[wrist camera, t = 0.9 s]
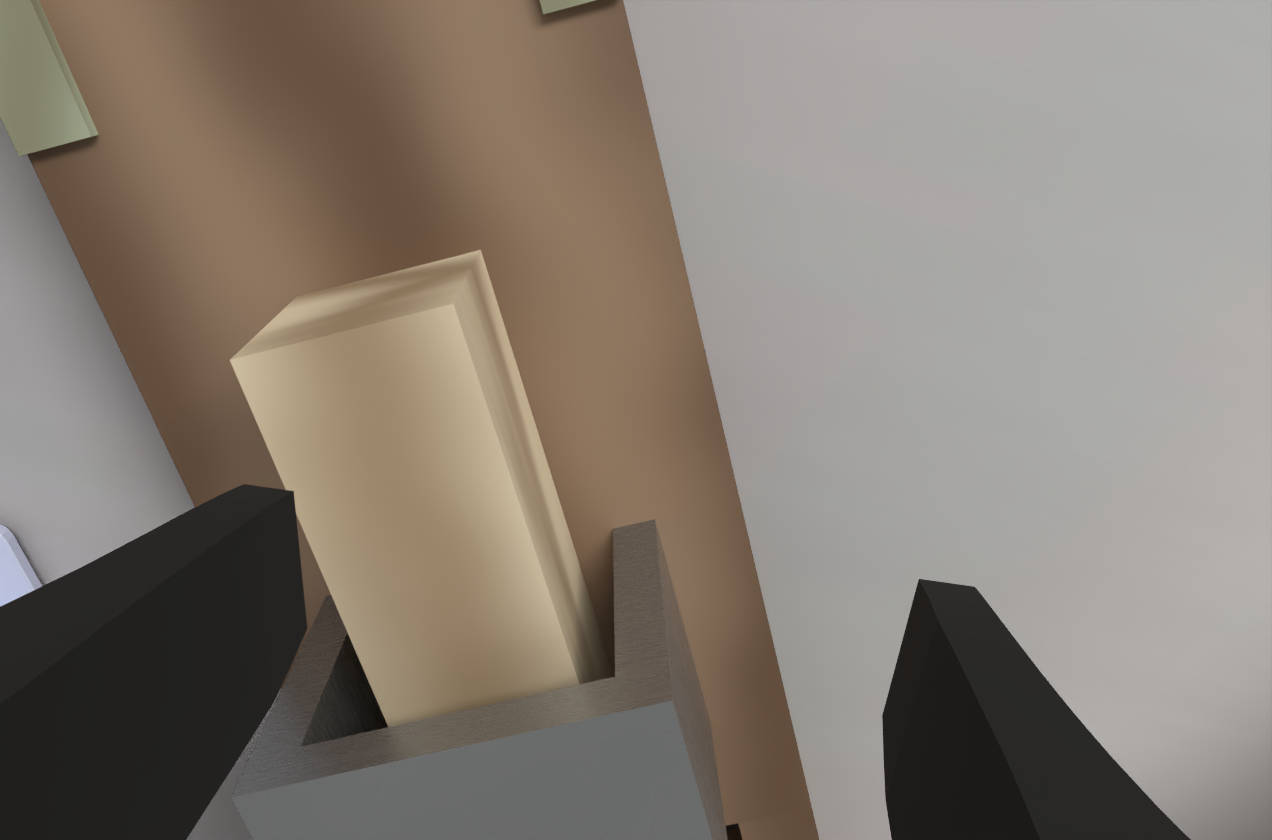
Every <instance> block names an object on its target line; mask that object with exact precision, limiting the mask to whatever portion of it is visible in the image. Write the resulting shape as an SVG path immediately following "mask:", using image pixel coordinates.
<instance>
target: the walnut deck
mask: <svg viewBox="0 0 1272 840" xmlns="http://www.w3.org/2000/svg"><path fill="white" fill-rule="evenodd" d="M0 118H1V120H2V122H3V124H4V126H5V128H6V130H7V132H8V134H9V137H10V139H11V141H12V143H13V145H14V147H15V149H16V151H17V153H18V155H19V156H22V155H26V154H27V155H28V157H29V159H30V161H31V163H32V165H33V167H34V169H35V171H36V173H37V176H38V178H39V180H40V182H41V184H42V186H43V188H44V190H45V192H46V194H47V197H48V199H49V201H50V203H51V205H52V207H53V209H54V211H55V213H56V215H57V218H58V220H59V222H60V224H61V226H62V228H63V230H64V232H65V234H66V237H67V239H68V241H69V243H70V245H71V247H72V249H73V251H74V253H75V255H76V258H77V260H78V262H79V264H80V266H81V268H82V270H83V272H84V274H85V276H86V279H87V281H88V283H89V285H90V287H91V289H92V291H93V293H94V295H95V297H96V300H97V302H98V304H99V306H100V308H101V310H102V312H103V314H104V316H105V318H106V321H107V323H108V325H109V327H110V329H111V331H112V333H113V335H114V337H115V339H116V342H117V344H118V346H119V348H120V350H121V352H122V354H123V356H124V358H125V360H126V363H127V365H128V367H129V369H130V371H131V373H132V375H133V377H134V379H135V382H136V384H137V386H138V388H139V390H140V392H141V394H142V396H143V398H144V400H145V403H146V405H147V407H148V409H149V411H150V413H151V415H152V417H153V419H154V421H155V424H156V426H157V428H158V430H159V432H160V434H161V436H162V438H163V440H164V442H165V445H166V447H167V449H168V451H169V453H170V455H171V457H172V459H173V461H174V463H175V466H176V468H177V470H178V472H179V474H180V476H181V478H182V480H183V482H184V484H185V487H186V489H187V491H188V493H189V495H190V497H191V499H192V501H193V503H194V505H195V507H197V506H199V505H201V504H203V503H205V502H207V501H209V500H211V499H213V498H215V497H217V496H219V495H221V494H223V493H225V492H227V491H229V490H231V489H234V488H236V487H238V486H241V485H243V484H247V485H254V486H261V487H268V488H275V489H283V490H286V489H285V487H284V484H283V482H282V480H281V478H280V475H279V473H278V471H277V468H276V466H275V464H274V461H273V459H272V457H271V454H270V452H269V450H268V447H267V445H266V443H265V441H264V438H263V436H262V434H261V431H260V429H259V427H258V424H257V422H256V420H255V417H254V415H253V413H252V410H251V408H250V406H249V404H248V401H247V399H246V397H245V394H244V392H243V390H242V387H241V385H240V383H239V380H238V378H237V376H236V373H235V371H234V369H233V367H232V364H231V362H230V359H231V358H232V357H233V356H234V355H236V354H237V353H238V352H239V351H240V350H241V349H242V348H243V347H244V346H245V345H246V344H247V343H248V342H249V341H250V340H251V339H252V338H254V337H255V336H256V335H257V334H258V333H259V332H260V331H261V330H262V329H263V328H264V327H265V326H266V325H267V324H268V323H269V322H270V321H271V320H273V319H274V318H275V317H276V316H277V315H278V314H279V313H280V312H281V311H282V310H283V309H284V308H285V307H286V306H287V305H288V304H289V303H291V302H292V301H293V300H294V299H295V298H296V297H298V296H302V295H306V294H310V293H314V292H317V291H321V290H325V289H329V288H333V287H337V286H341V285H345V284H349V283H353V282H357V281H361V280H364V279H368V278H372V277H376V276H380V275H384V274H388V273H392V272H396V271H400V270H404V269H408V268H412V267H415V266H419V265H423V264H427V263H431V262H435V261H439V260H443V259H447V258H451V257H455V256H459V255H462V254H466V253H470V252H474V251H478V250H481V252H482V255H483V259H484V262H485V265H486V268H487V271H488V274H489V278H490V281H491V284H492V287H493V290H494V294H495V297H496V300H497V303H498V306H499V310H500V313H501V316H502V319H503V322H504V326H505V329H506V332H507V335H508V338H509V341H510V345H511V348H512V351H513V354H514V357H515V361H516V364H517V367H518V370H519V373H520V377H521V380H522V383H523V386H524V389H525V392H526V396H527V399H528V402H529V405H530V408H531V412H532V415H533V418H534V421H535V424H536V428H537V431H538V434H539V437H540V440H541V444H542V447H543V450H544V453H545V456H546V459H547V463H548V466H549V469H550V472H551V475H552V479H553V482H554V485H555V488H556V491H557V495H558V498H559V501H560V504H561V507H562V510H563V514H564V517H565V520H566V523H567V526H568V530H569V533H570V536H571V539H572V542H573V546H574V549H575V552H576V555H577V558H578V562H579V565H580V568H581V571H582V574H583V577H584V581H585V584H586V587H587V590H588V593H589V597H590V600H591V603H592V606H593V609H594V613H595V616H596V619H597V622H598V625H599V628H600V632H601V635H602V638H603V641H604V644H605V648H606V651H607V654H608V657H609V660H610V664H611V667H612V670H613V673H614V676H615V635H614V565H613V529H614V528H619V527H623V526H627V525H631V524H636V523H640V522H644V521H649V520H653V519H655V521H656V525H657V528H658V532H659V536H660V539H661V543H662V547H663V550H664V554H665V558H666V561H667V565H668V569H669V572H670V576H671V580H672V583H673V587H674V591H675V594H676V598H677V602H678V605H679V609H680V613H681V616H682V620H683V623H684V627H685V631H686V634H687V638H688V642H689V645H690V649H691V653H692V656H693V660H694V664H695V667H696V671H697V675H698V678H699V682H700V686H701V689H702V693H703V697H704V700H705V704H706V708H707V711H708V715H709V719H710V723H711V730H712V737H713V744H714V750H715V757H716V764H717V771H718V778H719V785H720V791H721V798H722V805H723V812H724V819H725V826H726V832H727V839H728V840H819V837H818V833H817V828H816V824H815V820H814V816H813V811H812V807H811V803H810V798H809V794H808V790H807V786H806V781H805V777H804V773H803V769H802V764H801V760H800V756H799V751H798V747H797V743H796V739H795V734H794V730H793V726H792V721H791V717H790V713H789V709H788V704H787V700H786V696H785V692H784V687H783V683H782V679H781V674H780V670H779V666H778V662H777V657H776V653H775V649H774V644H773V640H772V636H771V632H770V627H769V623H768V619H767V615H766V610H765V606H764V602H763V597H762V593H761V589H760V585H759V580H758V576H757V572H756V568H755V563H754V559H753V555H752V550H751V546H750V542H749V538H748V533H747V529H746V525H745V520H744V516H743V512H742V508H741V503H740V499H739V495H738V491H737V486H736V482H735V478H734V473H733V469H732V465H731V461H730V456H729V452H728V448H727V443H726V439H725V435H724V431H723V426H722V422H721V418H720V414H719V409H718V405H717V401H716V396H715V392H714V388H713V384H712V379H711V375H710V371H709V366H708V362H707V358H706V354H705V349H704V345H703V341H702V337H701V332H700V328H699V324H698V319H697V315H696V311H695V307H694V302H693V298H692V294H691V289H690V285H689V281H688V277H687V272H686V268H685V264H684V260H683V255H682V251H681V247H680V242H679V238H678V234H677V230H676V225H675V221H674V217H673V212H672V208H671V204H670V200H669V195H668V191H667V187H666V183H665V178H664V174H663V170H662V165H661V161H660V157H659V153H658V148H657V144H656V140H655V135H654V131H653V127H652V123H651V118H650V114H649V110H648V106H647V101H646V97H645V93H644V88H643V84H642V80H641V76H640V71H639V67H638V63H637V59H636V54H635V50H634V46H633V41H632V37H631V33H630V29H629V24H628V20H627V16H626V11H625V7H624V3H623V0H0ZM296 519H297V529H298V539H299V549H300V559H301V569H302V579H303V589H304V599H305V609H306V619H307V631H306V633H305V635H304V637H303V640H302V642H301V644H300V646H299V649H298V651H297V653H296V655H295V658H294V660H293V662H292V664H291V667H290V669H289V671H288V673H287V675H286V677H285V679H284V681H283V683H282V685H281V688H283V686H284V684H285V682H286V680H287V677H288V675H289V673H290V671H291V669H292V667H293V665H294V663H295V661H296V658H297V656H298V654H299V652H300V650H301V648H302V646H303V644H304V641H305V639H306V637H307V635H308V633H309V631H310V629H311V627H312V625H313V622H314V620H315V618H316V616H317V614H318V612H319V610H320V608H321V606H322V603H323V601H324V599H325V597H326V596H327V595H331V593H330V591H329V589H328V586H327V584H326V582H325V579H324V577H323V575H322V572H321V570H320V568H319V565H318V563H317V561H316V558H315V556H314V554H313V552H312V549H311V547H310V545H309V542H308V540H307V538H306V535H305V533H304V531H303V528H302V526H301V524H300V521H299V519H298V517H297V515H296Z"/></svg>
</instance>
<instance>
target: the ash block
mask: <svg viewBox="0 0 1272 840" xmlns="http://www.w3.org/2000/svg"><path fill="white" fill-rule="evenodd" d="M230 362H231V364H232V367H233V369H234V371H235V373H236V376H237V378H238V380H239V383H240V385H241V387H242V390H243V392H244V394H245V397H246V399H247V401H248V404H249V406H250V408H251V410H252V413H253V415H254V417H255V420H256V422H257V424H258V427H259V429H260V431H261V434H262V436H263V438H264V441H265V443H266V445H267V447H268V450H269V452H270V454H271V457H272V459H273V461H274V464H275V466H276V468H277V471H278V473H279V475H280V478H281V480H282V482H283V484H284V487H285V489H286V490H290V491H294V499H295V509H296V515H297V517H298V519H299V521H300V524H301V526H302V528H303V531H304V533H305V535H306V538H307V540H308V542H309V545H310V547H311V549H312V552H313V554H314V556H315V558H316V561H317V563H318V565H319V568H320V570H321V572H322V575H323V577H324V579H325V582H326V584H327V586H328V589H329V591H330V593H331V595H332V598H333V600H334V602H335V605H336V607H337V609H338V612H339V614H340V616H341V619H342V621H343V623H344V626H345V628H346V630H347V632H348V635H349V637H350V639H351V642H352V644H353V646H354V649H355V651H356V653H357V656H358V658H359V660H360V663H361V665H362V667H363V669H364V672H365V674H366V676H367V679H368V681H369V683H370V686H371V688H372V690H373V693H374V695H375V697H376V700H377V702H378V704H379V706H380V709H381V711H382V713H383V716H384V718H385V720H386V723H387V725H388V727H391V726H396V725H400V724H405V723H409V722H414V721H418V720H422V719H427V718H431V717H436V716H440V715H445V714H449V713H454V712H458V711H463V710H467V709H472V708H476V707H481V706H485V705H490V704H494V703H499V702H503V701H508V700H512V699H517V698H521V697H526V696H530V695H535V694H539V693H544V692H548V691H553V690H557V689H562V688H566V687H571V686H575V685H580V684H584V683H589V682H593V681H598V680H602V679H606V678H611V677H615V676H614V673H613V670H612V667H611V664H610V660H609V657H608V654H607V651H606V648H605V644H604V641H603V638H602V635H601V632H600V628H599V625H598V622H597V619H596V616H595V613H594V609H593V606H592V603H591V600H590V597H589V593H588V590H587V587H586V584H585V581H584V577H583V574H582V571H581V568H580V565H579V562H578V558H577V555H576V552H575V549H574V546H573V542H572V539H571V536H570V533H569V530H568V526H567V523H566V520H565V517H564V514H563V510H562V507H561V504H560V501H559V498H558V495H557V491H556V488H555V485H554V482H553V479H552V475H551V472H550V469H549V466H548V463H547V459H546V456H545V453H544V450H543V447H542V444H541V440H540V437H539V434H538V431H537V428H536V424H535V421H534V418H533V415H532V412H531V408H530V405H529V402H528V399H527V396H526V392H525V389H524V386H523V383H522V380H521V377H520V373H519V370H518V367H517V364H516V361H515V357H514V354H513V351H512V348H511V345H510V341H509V338H508V335H507V332H506V329H505V326H504V322H503V319H502V316H501V313H500V310H499V306H498V303H497V300H496V297H495V294H494V290H493V287H492V284H491V281H490V278H489V274H488V271H487V268H486V265H485V262H484V259H483V255H482V252H481V250H478V251H474V252H470V253H466V254H462V255H459V256H455V257H451V258H447V259H443V260H439V261H435V262H431V263H427V264H423V265H419V266H415V267H412V268H408V269H404V270H400V271H396V272H392V273H388V274H384V275H380V276H376V277H372V278H368V279H364V280H361V281H357V282H353V283H349V284H345V285H341V286H337V287H333V288H329V289H325V290H321V291H317V292H314V293H310V294H306V295H302V296H298V297H296V298H295V299H294V300H293V301H292V302H291V303H289V304H288V305H287V306H286V307H285V308H284V309H283V310H282V311H281V312H280V313H279V314H278V315H277V316H276V317H275V318H274V319H273V320H271V321H270V322H269V323H268V324H267V325H266V326H265V327H264V328H263V329H262V330H261V331H260V332H259V333H258V334H257V335H256V336H255V337H254V338H252V339H251V340H250V341H249V342H248V343H247V344H246V345H245V346H244V347H243V348H242V349H241V350H240V351H239V352H238V353H237V354H236V355H234V356H233V357H232V358H231V359H230Z"/></svg>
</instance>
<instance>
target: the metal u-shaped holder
mask: <svg viewBox="0 0 1272 840" xmlns="http://www.w3.org/2000/svg"><path fill="white" fill-rule="evenodd" d="M613 565H614V635H615V677H611V678H606V679H602V680H598V681H593V682H589V683H584V684H580V685H575V686H571V687H566V688H562V689H557V690H553V691H548V692H544V693H539V694H535V695H530V696H526V697H521V698H517V699H512V700H508V701H503V702H499V703H494V704H490V705H485V706H481V707H476V708H472V709H467V710H463V711H458V712H454V713H449V714H445V715H440V716H436V717H431V718H427V719H422V720H418V721H414V722H409V723H405V724H400V725H396V726H391V727H388V725H387V723H386V720H385V718H384V716H383V713H382V711H381V709H380V706H379V704H378V702H377V700H376V697H375V695H374V693H373V690H372V688H371V686H370V683H369V681H368V679H367V676H366V674H365V672H364V669H363V667H362V665H361V663H360V660H359V658H358V656H357V653H356V651H355V649H354V646H353V644H352V642H351V639H350V637H349V635H348V632H347V630H346V628H345V626H344V623H343V621H342V619H341V616H340V614H339V612H338V609H337V607H336V605H335V602H334V600H333V598H332V595H327V596H326V597H325V599H324V601H323V603H322V606H321V608H320V610H319V612H318V614H317V616H316V618H315V620H314V622H313V625H312V627H311V629H310V631H309V633H308V635H307V637H306V639H305V641H304V644H303V646H302V648H301V650H300V652H299V654H298V656H297V658H296V661H295V663H294V665H293V667H292V669H291V671H290V673H289V675H288V677H287V680H286V682H285V684H284V686H283V688H282V690H281V692H280V694H279V696H278V699H277V701H276V703H275V705H274V707H273V709H272V711H271V713H270V716H269V718H268V720H267V722H266V724H265V726H264V728H263V730H262V732H261V735H260V737H259V739H258V741H257V743H256V745H255V747H254V749H253V751H252V754H251V756H250V758H249V760H248V762H247V764H246V766H245V768H244V771H243V773H242V775H241V777H240V779H239V781H238V783H237V785H236V787H235V790H234V792H233V794H232V796H231V799H232V801H233V803H234V805H235V807H236V809H237V811H238V813H239V814H240V816H241V818H242V820H243V822H244V824H245V826H246V828H247V830H248V831H249V833H250V835H251V837H252V839H253V840H728V839H727V832H726V826H725V819H724V812H723V805H722V798H721V791H720V785H719V778H718V771H717V764H716V757H715V750H714V744H713V737H712V730H711V723H710V719H709V715H708V711H707V708H706V704H705V700H704V697H703V693H702V689H701V686H700V682H699V678H698V675H697V671H696V667H695V664H694V660H693V656H692V653H691V649H690V645H689V642H688V638H687V634H686V631H685V627H684V623H683V620H682V616H681V613H680V609H679V605H678V602H677V598H676V594H675V591H674V587H673V583H672V580H671V576H670V572H669V569H668V565H667V561H666V558H665V554H664V550H663V547H662V543H661V539H660V536H659V532H658V528H657V525H656V521H655V519H653V520H649V521H644V522H640V523H636V524H631V525H627V526H623V527H619V528H614V529H613Z"/></svg>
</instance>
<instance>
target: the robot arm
mask: <svg viewBox="0 0 1272 840" xmlns="http://www.w3.org/2000/svg"><path fill="white" fill-rule="evenodd" d="M306 631H307V619H306V609H305V599H304V589H303V579H302V569H301V559H300V549H299V539H298V529H297V519H296V509H295V499H294V491H290V490H283V489H275V488H268V487H261V486H254V485H247V484H243V485H241V486H238V487H236V488H234V489H231V490H229V491H227V492H225V493H223V494H221V495H219V496H217V497H215V498H213V499H211V500H209V501H207V502H205V503H203V504H201V505H199V506H197V507H195V508H193V509H191V510H189V511H188V512H186V513H184V514H182V515H180V516H178V517H176V518H174V519H172V520H171V521H169V522H167V523H165V524H163V525H161V526H159V527H157V528H156V529H154V530H152V531H150V532H148V533H146V534H144V535H142V536H140V537H139V538H137V539H135V540H133V541H131V542H129V543H127V544H125V545H123V546H121V547H120V548H118V549H116V550H114V551H112V552H110V553H108V554H106V555H104V556H102V557H100V558H99V559H97V560H95V561H93V562H91V563H89V564H87V565H85V566H83V567H81V568H79V569H77V570H75V571H73V572H71V573H69V574H67V575H65V576H63V577H61V578H59V579H57V580H55V581H52V582H50V583H48V584H46V585H44V586H42V585H41V583H40V581H39V579H38V578H37V576H36V574H35V572H34V571H33V569H32V567H31V565H30V564H29V562H28V560H27V558H26V556H25V555H24V553H23V551H22V549H21V548H20V546H19V544H18V542H17V540H16V539H15V537H14V535H13V534H12V533H11V532H10V530H9V529H7V528H6V527H4V526H3V525H1V524H0V840H186V839H187V837H188V836H189V834H190V833H191V831H192V829H193V828H194V826H195V825H196V823H197V822H198V820H199V819H200V817H201V816H202V814H203V812H204V811H205V809H206V808H207V806H208V805H209V803H210V802H211V800H212V798H213V797H214V795H215V794H216V792H217V791H218V789H219V788H220V786H221V785H222V783H223V781H224V780H225V778H226V777H227V775H228V774H229V772H230V771H231V769H232V767H233V766H234V764H235V763H236V761H237V760H238V758H239V757H240V755H241V753H242V752H243V750H244V749H245V747H246V745H247V744H248V742H249V741H250V739H251V738H252V736H253V734H254V733H255V731H256V730H257V728H258V726H259V725H260V723H261V722H262V720H263V718H264V717H265V715H266V714H267V712H268V710H269V709H270V707H271V705H272V704H273V702H274V700H275V698H276V696H277V694H278V692H279V690H280V687H281V685H282V683H283V681H284V679H285V677H286V675H287V673H288V671H289V669H290V667H291V664H292V662H293V660H294V658H295V655H296V653H297V651H298V649H299V646H300V644H301V642H302V640H303V637H304V635H305V633H306ZM883 747H884V774H885V794H886V805H887V811H888V818H889V824H890V830H891V837H892V840H1190V839H1189V838H1188V837H1187V836H1186V835H1185V834H1184V833H1183V832H1182V831H1181V830H1180V829H1179V828H1178V827H1177V826H1176V825H1175V824H1174V823H1173V822H1172V821H1171V820H1170V819H1169V818H1168V817H1167V816H1166V815H1165V814H1164V813H1163V812H1162V811H1161V810H1160V809H1159V808H1158V807H1157V806H1156V805H1155V804H1154V802H1153V801H1152V800H1151V799H1150V798H1149V797H1148V796H1147V795H1146V794H1145V793H1144V792H1143V791H1142V789H1141V788H1140V787H1139V786H1138V785H1137V784H1136V783H1135V782H1134V781H1133V780H1132V779H1131V778H1130V777H1129V775H1128V774H1127V773H1126V772H1125V771H1124V770H1123V769H1122V768H1121V767H1120V766H1119V765H1118V764H1117V762H1116V761H1115V760H1114V759H1113V758H1112V757H1111V756H1110V755H1109V754H1108V752H1107V751H1106V750H1105V749H1104V748H1103V747H1102V746H1101V744H1100V743H1099V742H1098V741H1097V740H1096V739H1095V738H1094V736H1093V735H1092V734H1091V733H1090V732H1089V731H1088V729H1087V728H1086V727H1085V726H1084V725H1083V724H1082V722H1081V721H1080V720H1079V719H1078V718H1077V716H1076V715H1075V714H1074V713H1073V712H1072V710H1071V709H1070V708H1069V707H1068V706H1067V704H1066V703H1065V702H1064V701H1063V699H1062V698H1061V697H1060V696H1059V695H1058V693H1057V692H1056V691H1055V690H1054V688H1053V687H1052V686H1051V685H1050V683H1049V682H1048V681H1047V680H1046V678H1045V677H1044V676H1043V675H1042V673H1041V672H1040V671H1039V670H1038V668H1037V667H1036V666H1035V664H1034V663H1033V662H1032V661H1031V659H1030V658H1029V657H1028V655H1027V654H1026V653H1025V652H1024V650H1023V649H1022V648H1021V646H1020V645H1019V644H1018V642H1017V641H1016V640H1015V638H1014V637H1013V636H1012V635H1011V633H1010V632H1009V631H1008V629H1007V628H1006V627H1005V625H1004V624H1003V623H1002V621H1001V620H1000V619H999V617H998V616H997V615H996V613H995V612H994V611H993V610H992V608H991V607H990V606H989V604H988V603H987V602H986V600H985V599H984V598H983V597H982V595H981V594H980V593H979V591H978V590H977V589H976V588H975V587H972V586H965V585H958V584H951V583H944V582H936V581H929V580H922V579H919V581H918V585H917V588H916V592H915V596H914V600H913V603H912V607H911V611H910V615H909V618H908V622H907V626H906V630H905V633H904V637H903V641H902V645H901V648H900V652H899V656H898V660H897V663H896V667H895V671H894V675H893V678H892V682H891V686H890V690H889V693H888V697H887V701H886V705H885V708H884V712H883Z"/></svg>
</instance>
